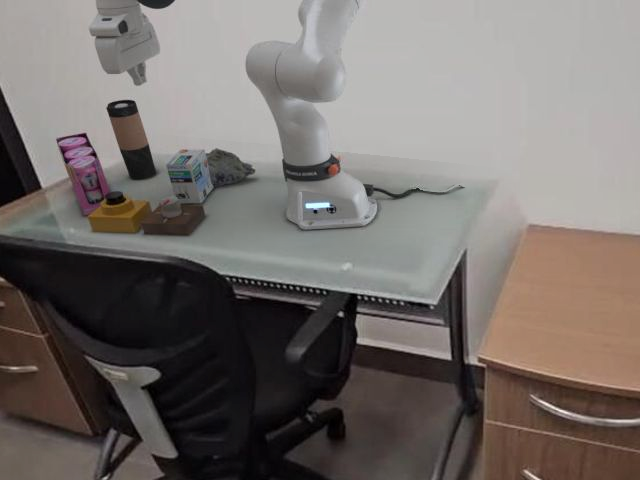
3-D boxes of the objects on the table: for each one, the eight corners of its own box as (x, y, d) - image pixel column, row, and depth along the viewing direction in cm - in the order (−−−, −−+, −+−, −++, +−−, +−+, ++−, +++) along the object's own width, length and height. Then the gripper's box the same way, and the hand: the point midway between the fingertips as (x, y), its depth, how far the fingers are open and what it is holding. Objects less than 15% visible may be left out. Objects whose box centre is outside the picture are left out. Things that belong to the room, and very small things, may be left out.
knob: (167, 209, 148) (163, 195, 146) (184, 209, 148) (180, 195, 146) (159, 217, 145) (155, 203, 142) (177, 218, 144) (173, 203, 142)
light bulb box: (201, 204, 157) (191, 164, 150) (176, 204, 157) (164, 164, 151) (214, 186, 165) (205, 148, 159) (190, 186, 166) (180, 148, 159)
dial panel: (205, 216, 151) (202, 204, 150) (188, 235, 143) (184, 223, 142) (163, 215, 153) (160, 203, 151) (144, 234, 145) (140, 222, 143)
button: (128, 199, 148) (125, 191, 147) (120, 206, 145) (117, 198, 143) (113, 198, 148) (110, 190, 147) (104, 205, 145) (101, 198, 144)
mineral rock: (258, 177, 170) (251, 142, 164) (240, 193, 161) (232, 157, 156) (217, 174, 173) (209, 139, 167) (197, 190, 164) (187, 154, 158)
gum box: (118, 210, 156) (100, 159, 148) (85, 218, 152) (64, 167, 144) (103, 179, 172) (86, 131, 164) (73, 185, 169) (54, 138, 161)
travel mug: (162, 172, 175) (142, 101, 163) (140, 182, 170) (117, 110, 158) (145, 167, 178) (123, 98, 166) (123, 176, 173) (99, 105, 161)
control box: (153, 215, 153) (146, 193, 149) (135, 232, 145) (127, 210, 142) (112, 214, 154) (104, 192, 150) (93, 231, 147) (84, 208, 143)
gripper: (132, 11, 144) (149, 72, 152) (83, 29, 128) (105, 96, 136) (157, 10, 144) (173, 72, 152) (111, 29, 127) (132, 96, 135)
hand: (141, 83), depth 144 cm, fingers closed
